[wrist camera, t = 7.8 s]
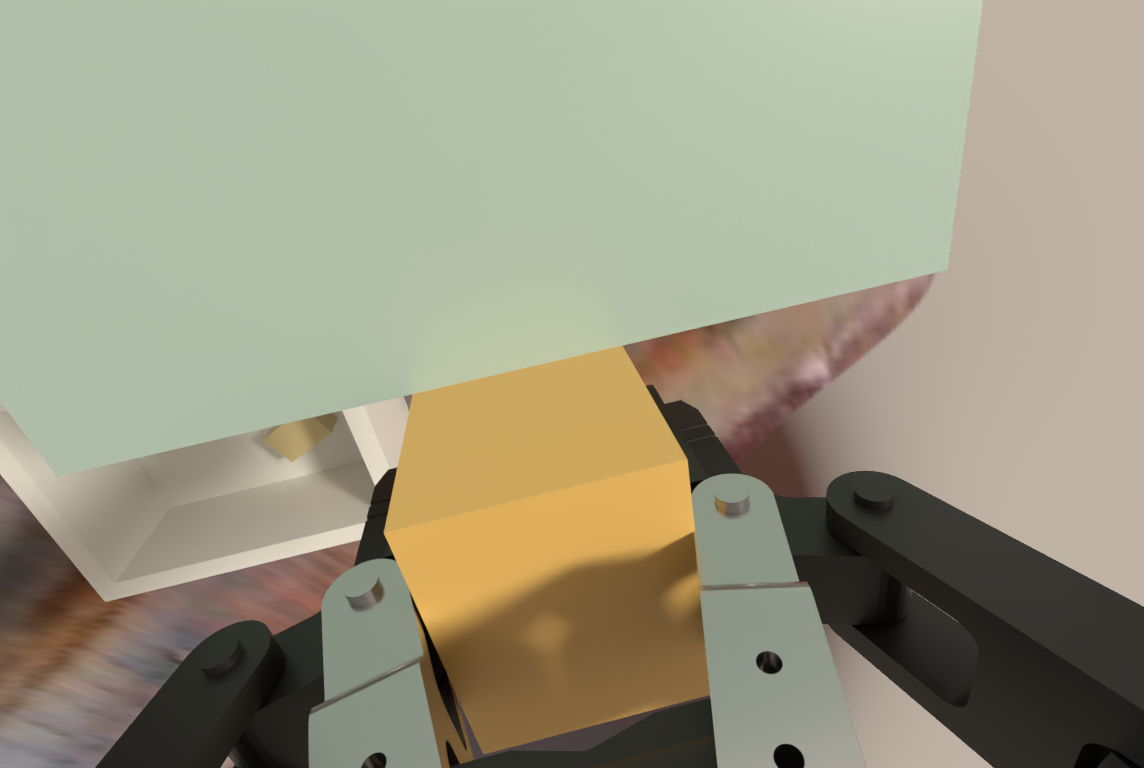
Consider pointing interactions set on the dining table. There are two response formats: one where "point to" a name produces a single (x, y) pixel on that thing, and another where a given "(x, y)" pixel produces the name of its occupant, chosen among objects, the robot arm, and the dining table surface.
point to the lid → (462, 267)
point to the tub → (211, 498)
